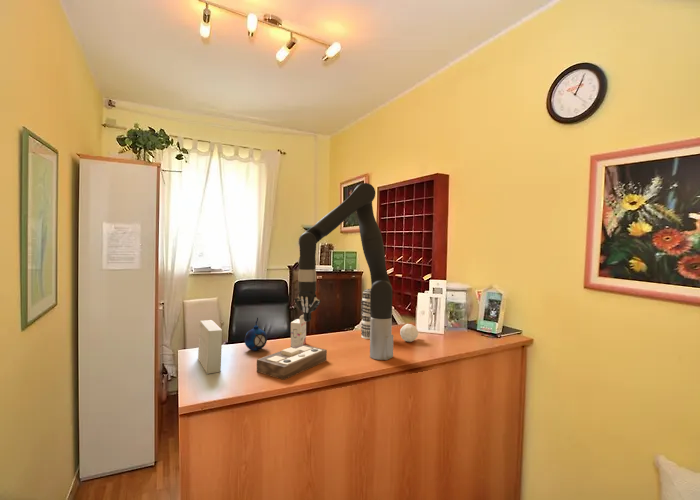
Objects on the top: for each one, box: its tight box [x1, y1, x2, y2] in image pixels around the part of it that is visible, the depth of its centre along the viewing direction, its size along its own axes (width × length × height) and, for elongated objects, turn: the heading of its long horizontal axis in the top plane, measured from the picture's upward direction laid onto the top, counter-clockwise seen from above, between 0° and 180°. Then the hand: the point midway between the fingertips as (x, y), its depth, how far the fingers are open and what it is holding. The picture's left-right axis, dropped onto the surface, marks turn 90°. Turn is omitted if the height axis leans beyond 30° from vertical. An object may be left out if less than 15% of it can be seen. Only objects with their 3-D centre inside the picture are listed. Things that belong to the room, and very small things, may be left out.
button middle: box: [281, 346, 300, 357], centre depth 137 cm, size 5×5×3 cm
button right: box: [296, 346, 312, 352], centre depth 144 cm, size 5×5×3 cm
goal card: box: [278, 347, 323, 365], centre depth 134 cm, size 4×21×1 cm, turn 147°
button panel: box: [256, 344, 328, 381], centre depth 136 cm, size 14×25×4 cm, turn 147°
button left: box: [266, 356, 286, 363], centre depth 130 cm, size 5×5×3 cm
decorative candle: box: [360, 288, 371, 340], centre depth 180 cm, size 9×9×25 cm
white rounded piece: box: [399, 323, 419, 343], centre depth 174 cm, size 9×9×12 cm
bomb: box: [244, 317, 268, 352], centre depth 155 cm, size 10×11×15 cm
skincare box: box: [197, 319, 223, 375], centre depth 136 cm, size 21×5×16 cm, turn 32°
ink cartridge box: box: [290, 313, 307, 347], centre depth 164 cm, size 9×5×15 cm, turn 168°
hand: (307, 321), depth 145 cm, fingers closed
